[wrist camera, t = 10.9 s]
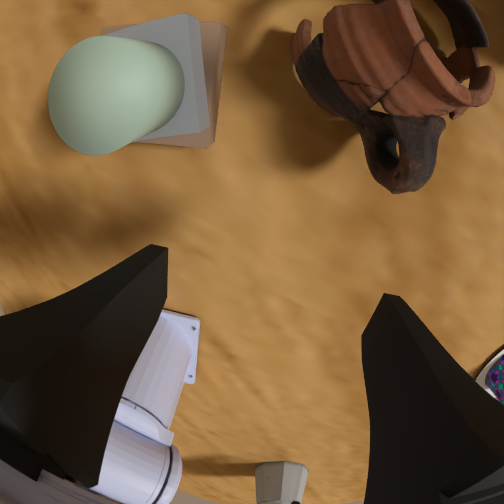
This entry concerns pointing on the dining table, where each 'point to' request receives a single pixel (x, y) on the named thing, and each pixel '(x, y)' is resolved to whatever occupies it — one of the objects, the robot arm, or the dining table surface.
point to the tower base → (213, 68)
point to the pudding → (494, 378)
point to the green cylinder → (113, 93)
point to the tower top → (190, 57)
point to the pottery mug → (394, 81)
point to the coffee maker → (280, 482)
